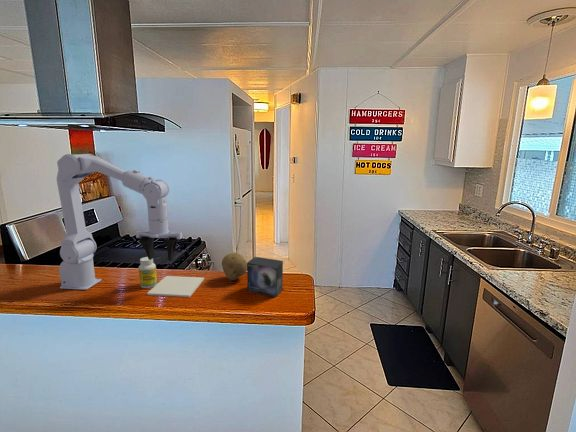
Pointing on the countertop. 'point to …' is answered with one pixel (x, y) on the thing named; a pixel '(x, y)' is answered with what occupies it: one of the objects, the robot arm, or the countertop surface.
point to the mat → (176, 286)
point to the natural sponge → (234, 266)
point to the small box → (265, 276)
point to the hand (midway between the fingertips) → (161, 259)
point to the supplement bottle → (147, 273)
